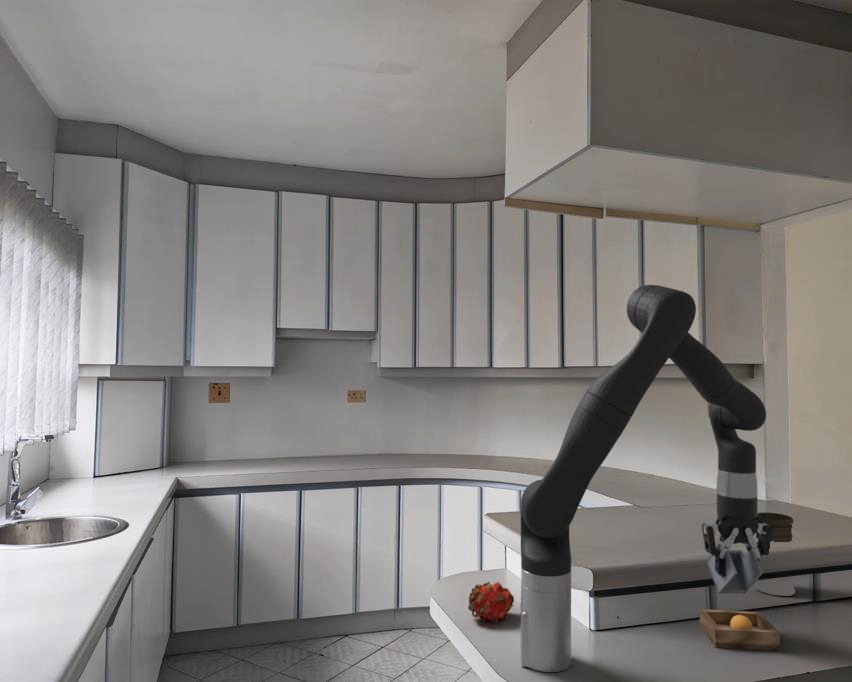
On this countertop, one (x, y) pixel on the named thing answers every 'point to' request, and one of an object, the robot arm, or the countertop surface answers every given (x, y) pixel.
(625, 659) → the countertop surface
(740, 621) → the ball
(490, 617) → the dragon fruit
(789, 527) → the container
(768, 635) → the tray
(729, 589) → the holder
